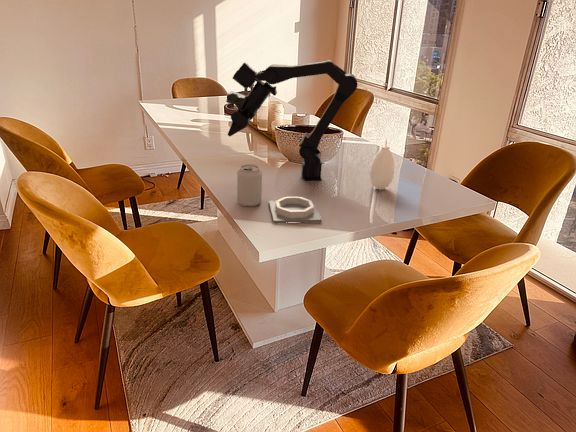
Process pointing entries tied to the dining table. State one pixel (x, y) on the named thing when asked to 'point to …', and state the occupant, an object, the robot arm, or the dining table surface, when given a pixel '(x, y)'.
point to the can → (249, 185)
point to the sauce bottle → (382, 168)
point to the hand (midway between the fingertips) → (231, 132)
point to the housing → (294, 210)
